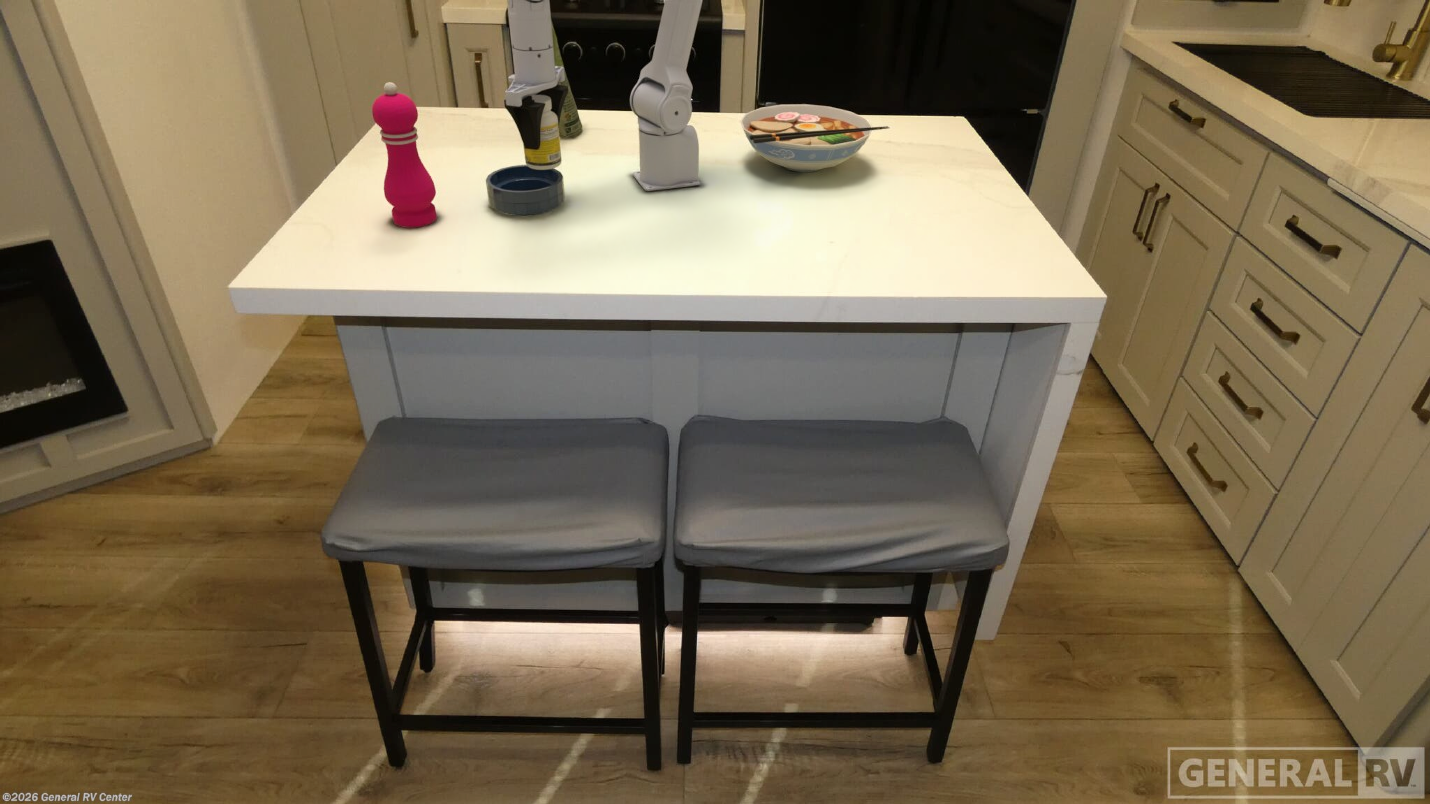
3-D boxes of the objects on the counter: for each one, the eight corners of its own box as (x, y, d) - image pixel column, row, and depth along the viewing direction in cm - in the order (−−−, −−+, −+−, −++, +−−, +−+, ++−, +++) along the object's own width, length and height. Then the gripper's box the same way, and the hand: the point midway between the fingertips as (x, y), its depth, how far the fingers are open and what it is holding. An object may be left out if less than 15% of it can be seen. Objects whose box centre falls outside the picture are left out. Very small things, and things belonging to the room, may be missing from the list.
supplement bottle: (527, 158, 133) (520, 93, 127) (562, 158, 133) (557, 93, 127) (523, 171, 128) (516, 104, 123) (560, 170, 129) (555, 103, 123)
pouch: (557, 144, 158) (544, -4, 144) (509, 131, 163) (492, -13, 149) (596, 129, 166) (588, -14, 151) (549, 117, 171) (537, -22, 157)
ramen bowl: (839, 138, 164) (844, 94, 160) (896, 181, 147) (904, 133, 142) (715, 150, 158) (716, 104, 153) (759, 196, 140) (762, 146, 135)
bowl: (556, 186, 142) (554, 161, 139) (572, 213, 133) (569, 187, 130) (484, 194, 138) (481, 168, 136) (495, 222, 129) (492, 195, 127)
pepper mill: (449, 213, 132) (427, 78, 120) (421, 232, 126) (395, 92, 114) (409, 206, 134) (383, 72, 122) (380, 224, 128) (349, 86, 116)
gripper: (530, 32, 128) (539, 124, 135) (480, 55, 116) (493, 154, 124) (574, 36, 126) (580, 129, 134) (527, 60, 115) (537, 160, 122)
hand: (541, 142), depth 129 cm, fingers closed on supplement bottle, 5 cm apart
